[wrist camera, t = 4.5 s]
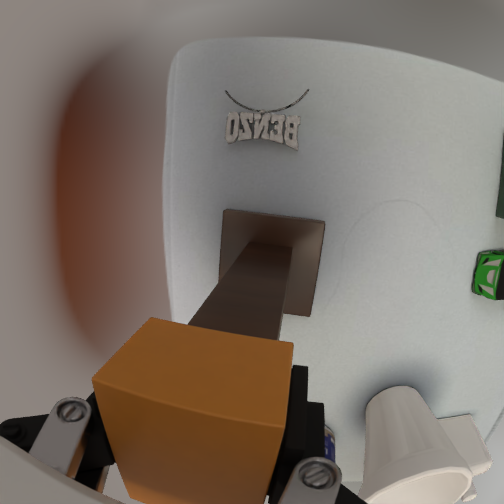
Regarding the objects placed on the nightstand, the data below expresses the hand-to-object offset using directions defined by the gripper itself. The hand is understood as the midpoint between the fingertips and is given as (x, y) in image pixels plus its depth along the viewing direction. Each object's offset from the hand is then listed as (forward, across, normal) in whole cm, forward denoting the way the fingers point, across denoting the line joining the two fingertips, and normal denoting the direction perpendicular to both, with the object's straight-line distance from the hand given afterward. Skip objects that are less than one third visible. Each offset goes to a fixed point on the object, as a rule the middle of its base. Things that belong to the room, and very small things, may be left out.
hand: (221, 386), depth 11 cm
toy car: (+16, -24, -2) cm, 29 cm away
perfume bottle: (+16, -23, +17) cm, 33 cm away
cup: (+16, -15, +14) cm, 26 cm away
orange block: (-1, 0, 0) cm, 1 cm away
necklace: (+16, +2, -12) cm, 20 cm away
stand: (+16, 0, 0) cm, 16 cm away
